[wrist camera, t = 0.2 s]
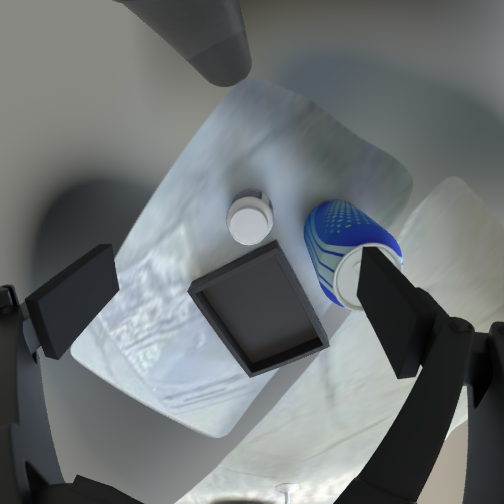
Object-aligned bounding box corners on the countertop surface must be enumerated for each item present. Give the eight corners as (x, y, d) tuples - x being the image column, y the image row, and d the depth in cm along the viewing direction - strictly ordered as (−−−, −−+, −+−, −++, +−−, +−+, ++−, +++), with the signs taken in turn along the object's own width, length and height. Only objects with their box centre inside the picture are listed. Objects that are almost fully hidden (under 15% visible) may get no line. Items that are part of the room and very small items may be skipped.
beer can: (368, 204, 38) (423, 241, 23) (355, 262, 41) (395, 324, 26) (308, 192, 38) (334, 224, 23) (297, 253, 41) (312, 316, 26)
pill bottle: (223, 209, 40) (211, 227, 31) (250, 180, 38) (246, 190, 30) (253, 236, 41) (249, 260, 32) (280, 208, 39) (284, 226, 31)
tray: (191, 282, 44) (187, 291, 41) (276, 239, 41) (276, 247, 38) (250, 366, 48) (249, 378, 46) (326, 335, 46) (330, 346, 43)
